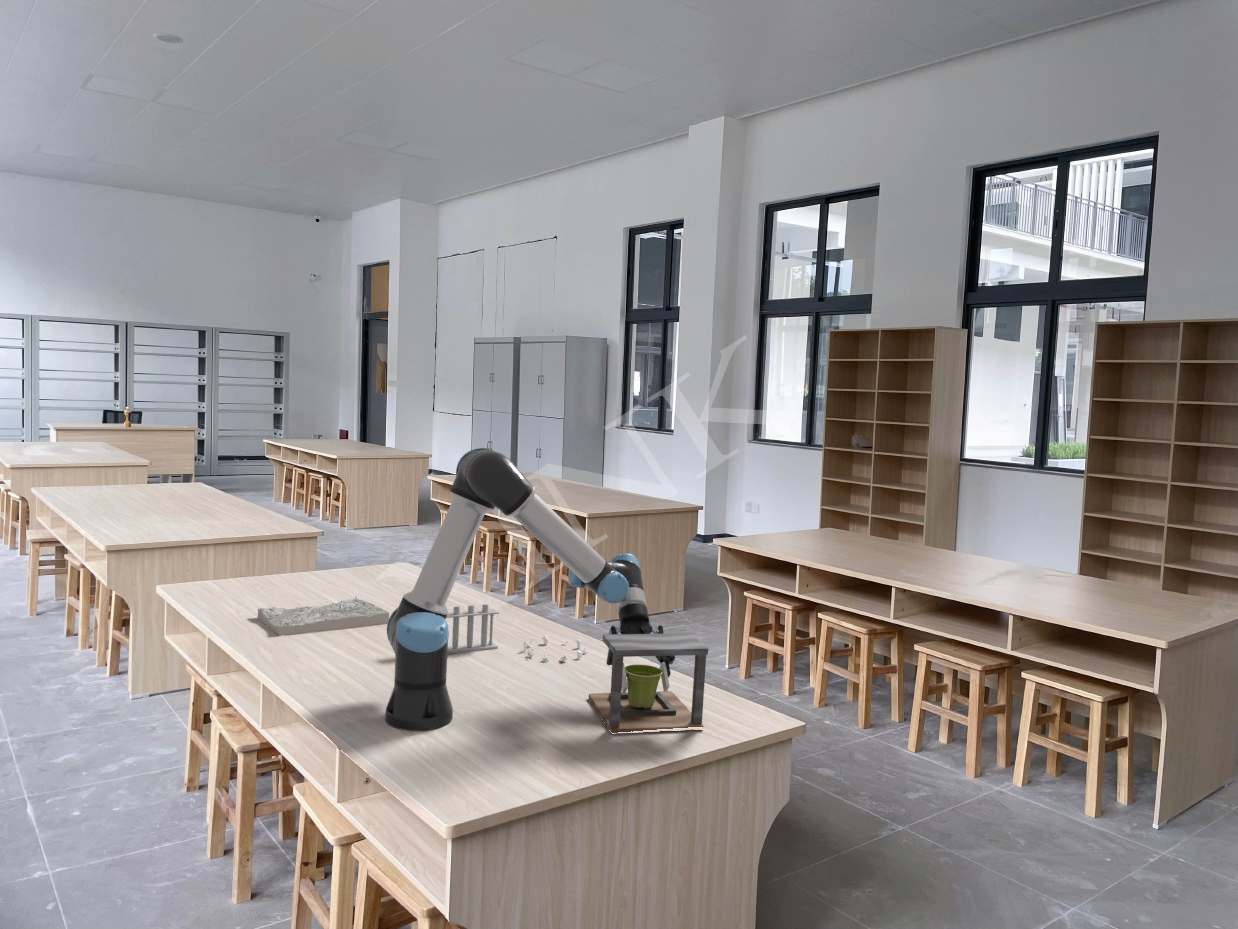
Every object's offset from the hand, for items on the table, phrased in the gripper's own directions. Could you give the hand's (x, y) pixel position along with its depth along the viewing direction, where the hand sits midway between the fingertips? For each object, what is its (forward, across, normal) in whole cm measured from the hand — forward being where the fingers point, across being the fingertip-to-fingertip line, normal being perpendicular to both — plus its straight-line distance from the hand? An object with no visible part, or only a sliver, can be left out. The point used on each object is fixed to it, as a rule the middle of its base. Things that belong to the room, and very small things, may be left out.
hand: (646, 689), depth 214 cm
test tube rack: (-35, +41, -45) cm, 71 cm away
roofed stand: (+4, 0, -5) cm, 6 cm away
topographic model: (-60, +80, -70) cm, 122 cm away
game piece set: (-32, +12, -42) cm, 55 cm away
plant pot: (+1, 0, -6) cm, 6 cm away
